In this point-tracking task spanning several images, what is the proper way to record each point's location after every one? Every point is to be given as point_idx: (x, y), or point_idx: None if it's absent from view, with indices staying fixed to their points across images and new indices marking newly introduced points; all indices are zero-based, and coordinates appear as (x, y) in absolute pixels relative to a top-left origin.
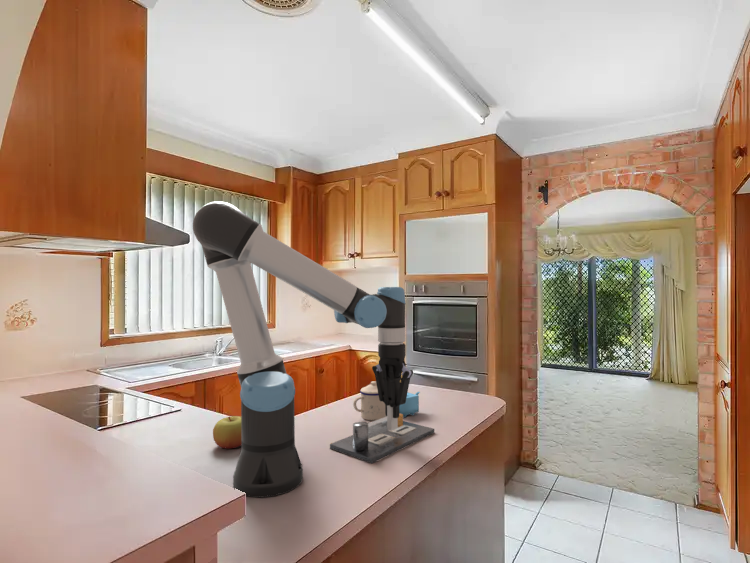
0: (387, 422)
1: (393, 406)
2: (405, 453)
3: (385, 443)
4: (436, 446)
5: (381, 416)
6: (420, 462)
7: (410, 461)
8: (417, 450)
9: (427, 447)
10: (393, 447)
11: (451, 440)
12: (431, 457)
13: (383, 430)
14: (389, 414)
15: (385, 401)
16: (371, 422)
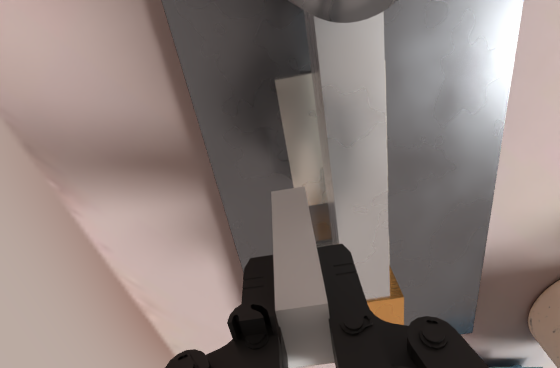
0: (306, 210)
1: (237, 317)
2: (162, 147)
3: (277, 126)
4: (156, 280)
5: (540, 315)
6: (32, 131)
7: (63, 102)
8: (162, 206)
9: (167, 253)
10: (204, 122)
11: (174, 342)
12: (64, 201)
13: (324, 169)
14: (293, 253)
15: (360, 334)
16: (379, 119)
